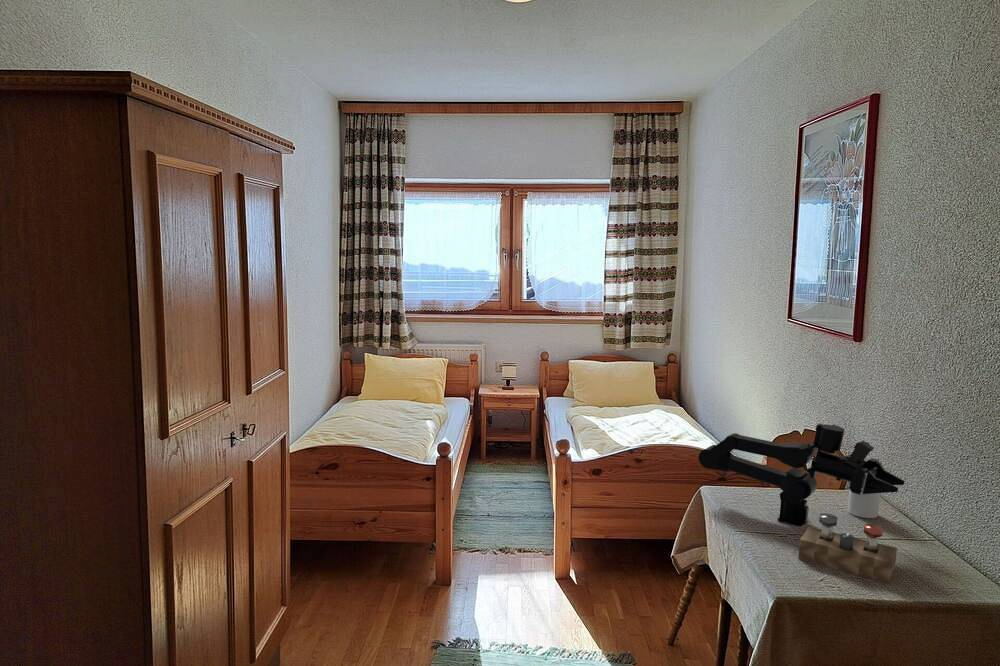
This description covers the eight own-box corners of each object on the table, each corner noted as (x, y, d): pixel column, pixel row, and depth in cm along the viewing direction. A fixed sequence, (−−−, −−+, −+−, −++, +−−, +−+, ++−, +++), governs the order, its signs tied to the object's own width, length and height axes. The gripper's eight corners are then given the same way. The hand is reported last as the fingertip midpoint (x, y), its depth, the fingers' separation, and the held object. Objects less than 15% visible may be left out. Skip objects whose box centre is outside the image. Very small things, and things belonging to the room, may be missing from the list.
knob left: (815, 544, 181) (818, 516, 180) (818, 538, 184) (821, 512, 183) (832, 548, 179) (835, 521, 178) (835, 543, 182) (838, 516, 181)
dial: (838, 548, 176) (839, 535, 175) (840, 544, 178) (841, 531, 178) (851, 551, 174) (853, 538, 174) (853, 547, 176) (855, 534, 176)
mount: (798, 558, 181) (800, 539, 180) (807, 544, 189) (809, 526, 188) (889, 583, 170) (891, 563, 169) (894, 567, 178) (897, 548, 177)
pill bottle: (868, 508, 216) (874, 459, 213) (883, 519, 208) (889, 468, 205) (842, 508, 215) (847, 458, 213) (856, 519, 207) (862, 467, 205)
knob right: (859, 555, 175) (863, 527, 174) (862, 550, 179) (865, 522, 178) (878, 560, 173) (881, 532, 172) (880, 554, 176) (884, 526, 175)
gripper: (834, 442, 187) (902, 462, 178) (851, 433, 202) (914, 450, 193) (824, 484, 189) (891, 505, 179) (842, 471, 203) (904, 490, 194)
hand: (901, 486), depth 186 cm, fingers open, 9 cm apart
